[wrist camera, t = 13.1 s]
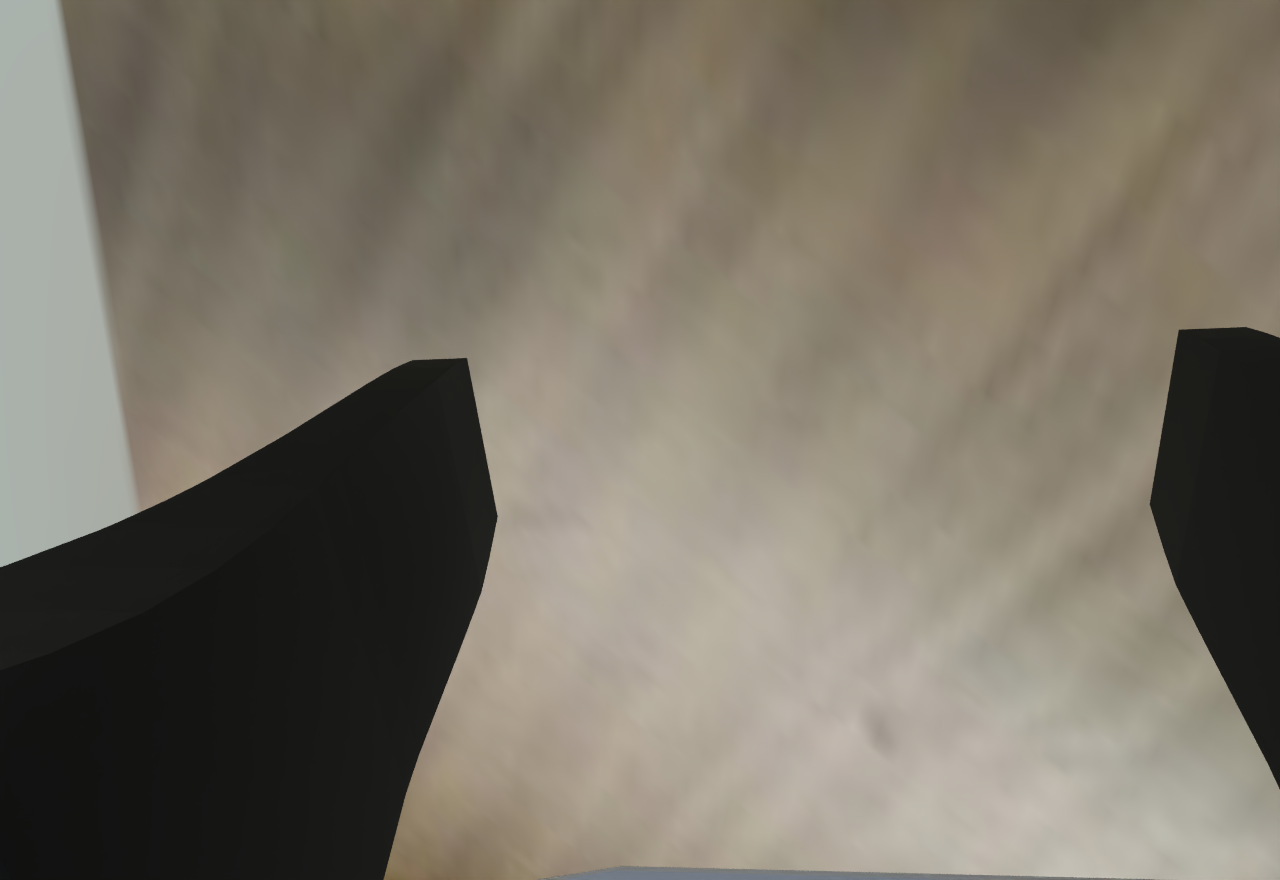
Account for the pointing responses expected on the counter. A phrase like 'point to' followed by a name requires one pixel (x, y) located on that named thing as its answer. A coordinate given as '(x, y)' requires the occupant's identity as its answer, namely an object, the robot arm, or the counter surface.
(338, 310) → the counter surface
